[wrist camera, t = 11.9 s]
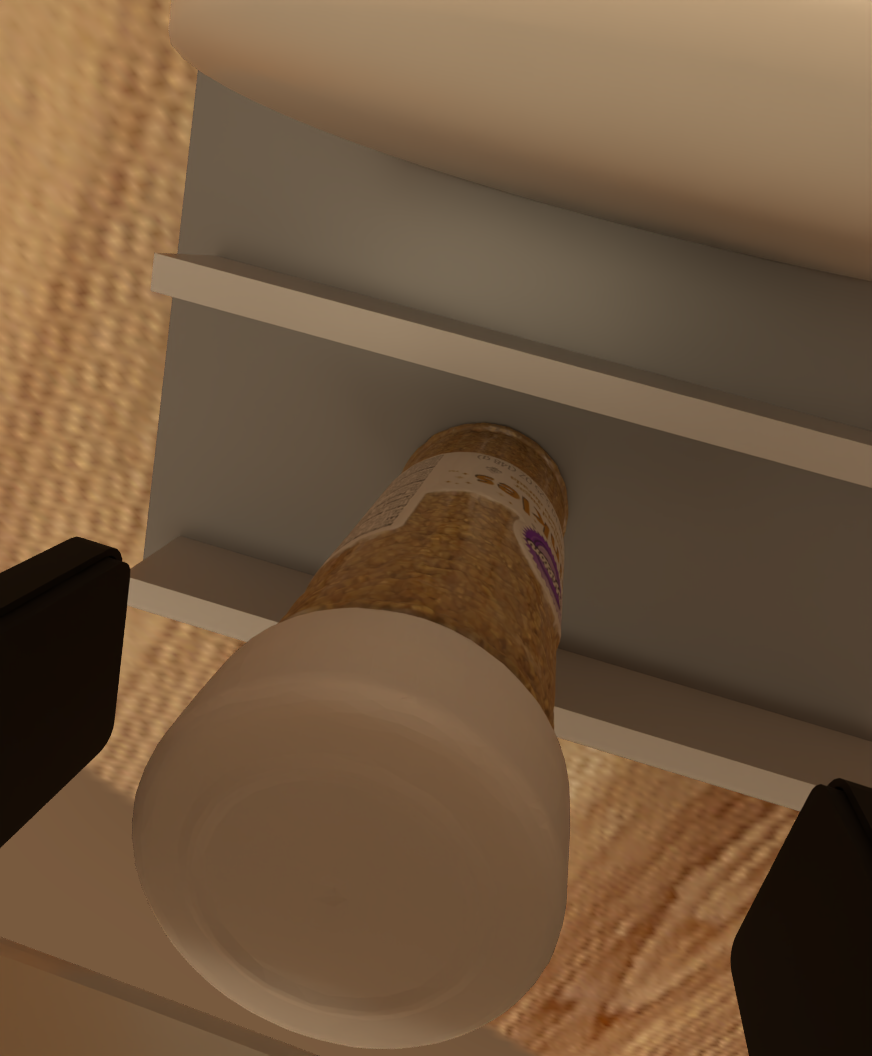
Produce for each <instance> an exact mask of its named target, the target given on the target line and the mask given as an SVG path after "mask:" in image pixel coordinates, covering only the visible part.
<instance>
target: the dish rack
mask: <svg viewBox="0 0 872 1056" xmlns="http://www.w3.org/2000/svg"><path fill="white" fill-rule="evenodd" d="M169 36H170V41H171V45H172V46H173V47H174V48H175V49H176V51H177V52H178V53H179V54H180V55H181V57H182V58H183V59H185V60H186V61H187V62H188V63H190V64H191V65H192V66H194V67H195V68H196V69H198V75H197V84H196V93H195V102H194V111H193V119H192V128H191V137H190V146H189V155H188V164H187V173H186V182H185V191H184V200H183V209H182V218H181V227H180V235H179V244H178V253H177V254H167V253H154V262H153V272H152V282H151V291H153V292H157V293H160V294H164V295H168V296H171V297H173V298H172V307H171V316H170V325H169V334H168V342H167V351H166V360H165V369H164V378H163V387H162V396H161V405H160V414H159V423H158V432H157V441H156V450H155V458H154V467H153V476H152V485H151V494H150V503H149V512H148V521H147V530H146V539H145V548H144V557H143V561H142V562H140V563H139V564H137V565H136V566H134V567H133V568H131V569H130V583H129V593H128V602H127V606H131V607H134V608H137V609H140V610H144V611H147V612H150V613H153V614H157V615H160V616H163V617H167V618H170V619H173V620H176V621H180V622H183V623H186V624H189V625H193V626H196V627H199V628H202V629H206V630H209V631H212V632H216V633H219V634H222V635H225V636H229V637H232V638H235V639H238V640H242V641H245V642H248V641H249V640H250V639H251V638H253V637H254V636H256V635H257V634H259V633H261V632H262V631H264V630H266V629H267V628H269V627H271V626H273V625H276V624H277V623H279V622H280V620H281V619H282V618H283V617H284V616H285V615H286V614H287V612H288V611H289V609H290V608H291V607H292V605H293V604H294V603H295V602H296V600H297V599H298V598H299V597H300V596H301V595H302V594H304V593H305V590H306V588H307V586H308V585H309V583H310V581H311V580H312V578H313V577H314V575H315V574H316V573H317V571H318V570H319V569H320V568H321V566H322V565H323V564H324V563H325V562H326V560H327V559H328V558H329V557H330V556H331V555H332V553H333V552H334V551H335V550H336V549H337V548H338V546H339V545H340V544H341V543H342V542H343V541H344V539H345V538H346V537H347V536H348V535H349V533H350V532H351V531H352V530H353V529H354V527H355V526H356V525H357V524H358V523H359V521H360V520H361V519H362V518H363V517H364V515H365V514H366V513H367V512H368V510H369V509H370V508H371V507H372V506H373V504H374V503H375V502H376V501H377V500H378V498H379V497H380V496H381V495H382V494H383V492H384V491H385V490H386V489H387V488H388V486H389V485H390V484H391V483H392V482H393V481H394V480H395V479H396V478H397V477H398V476H399V475H400V474H401V473H402V471H403V469H404V467H405V465H406V463H407V462H408V460H409V459H410V457H411V456H412V455H413V454H414V452H415V451H416V450H417V449H418V448H419V447H421V446H422V445H423V444H425V443H426V442H427V441H428V440H429V439H430V438H431V437H432V436H433V435H434V434H436V433H439V432H441V431H444V430H447V429H449V428H452V427H456V426H459V425H463V424H476V423H491V424H496V425H501V426H506V427H510V428H512V429H514V430H516V431H518V432H519V433H521V434H523V435H525V436H526V437H528V438H530V439H531V440H533V441H535V442H536V443H537V444H538V445H540V446H541V447H542V448H543V449H544V450H545V452H546V453H547V454H548V455H549V456H550V458H551V459H552V460H553V461H554V462H555V463H556V465H557V466H558V469H559V472H560V474H561V476H562V478H563V480H564V483H565V486H566V491H567V501H568V519H567V525H566V531H565V534H564V538H563V539H564V574H563V593H562V619H561V638H560V642H559V645H558V648H557V650H556V678H555V702H554V703H555V705H554V732H555V734H556V737H558V738H562V739H565V740H568V741H572V742H575V743H578V744H581V745H585V746H588V747H591V748H594V749H598V750H601V751H604V752H607V753H611V754H614V755H617V756H621V757H624V758H627V759H630V760H634V761H637V762H640V763H643V764H647V765H650V766H653V767H656V768H660V769H663V770H666V771H670V772H673V773H676V774H679V775H683V776H686V777H689V778H692V779H696V780H699V781H702V782H705V783H709V784H712V785H715V786H719V787H722V788H725V789H728V790H732V791H735V792H738V793H741V794H745V795H748V796H751V797H754V798H758V799H761V800H764V801H768V802H771V803H774V804H777V805H781V806H784V807H787V808H790V809H794V810H797V811H801V809H802V807H803V805H804V803H805V801H806V799H807V797H808V796H809V794H810V792H811V791H812V789H813V788H814V787H815V786H816V785H819V784H822V785H826V786H828V784H829V783H830V782H831V781H833V780H834V779H837V778H842V779H845V780H848V781H851V782H854V783H857V784H861V785H864V786H867V787H870V788H872V0H172V1H171V11H170V21H169Z"/></svg>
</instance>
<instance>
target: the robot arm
mask: <svg viewBox="0 0 872 1056" xmlns="http://www.w3.org/2000/svg"><path fill="white" fill-rule="evenodd" d="M129 583H130V567H129V565H128V564H127V563H125V562H122V557H121V553H120V552H119V551H118V549H116V548H112V547H109V546H106V545H103V544H100V543H97V542H94V541H90V540H87V539H84V538H81V537H74V538H70V539H68V540H66V541H64V542H62V543H60V544H58V545H56V546H54V547H52V548H50V549H48V550H46V551H44V552H42V553H40V554H38V555H36V556H34V557H32V558H30V559H28V560H26V561H24V562H22V563H20V564H18V565H16V566H14V567H12V568H10V569H8V570H6V571H4V572H2V573H0V848H1V847H2V846H3V845H4V844H5V843H6V842H7V841H8V840H9V839H10V838H11V837H12V836H13V835H14V834H15V833H16V832H17V831H18V830H19V829H20V828H22V827H23V826H24V825H25V824H26V823H27V822H28V821H29V820H30V819H31V818H32V817H33V816H34V815H35V814H36V813H37V812H38V811H39V810H40V809H41V808H42V807H43V806H44V805H45V804H46V803H48V802H49V801H50V800H51V799H52V798H53V797H54V796H55V795H56V794H57V793H58V792H59V791H60V790H61V789H62V788H63V787H64V786H65V785H66V784H67V783H68V782H69V781H70V780H71V779H72V778H74V777H75V776H76V775H77V774H78V773H79V772H80V771H81V770H82V769H83V768H84V767H85V766H86V765H87V764H88V763H89V762H90V761H91V760H92V759H93V758H94V757H95V756H96V755H97V754H98V753H100V751H101V750H102V749H103V748H104V746H105V745H106V743H107V742H108V740H109V738H110V736H111V733H112V730H113V726H114V720H115V711H116V702H117V693H118V684H119V674H120V665H121V656H122V647H123V638H124V629H125V620H126V611H127V602H128V593H129ZM731 972H732V976H733V981H734V986H735V991H736V996H737V1000H738V1005H739V1010H740V1015H741V1019H742V1024H743V1029H744V1034H745V1039H746V1043H747V1048H748V1053H749V1056H872V788H870V787H867V786H864V785H861V784H857V783H854V782H851V781H848V780H845V779H842V778H837V779H834V780H833V781H831V782H830V783H829V784H828V786H826V785H822V784H819V785H816V786H815V787H814V788H813V789H812V791H811V792H810V794H809V796H808V797H807V799H806V801H805V803H804V805H803V807H802V809H801V811H800V813H799V815H798V817H797V819H796V821H795V823H794V825H793V826H792V828H791V830H790V832H789V834H788V836H787V838H786V840H785V842H784V844H783V846H782V848H781V850H780V852H779V853H778V855H777V857H776V859H775V861H774V863H773V865H772V867H771V869H770V871H769V873H768V875H767V877H766V879H765V881H764V882H763V884H762V886H761V888H760V890H759V892H758V894H757V896H756V898H755V900H754V902H753V904H752V906H751V908H750V909H749V911H748V913H747V915H746V917H745V919H744V921H743V923H742V925H741V927H740V929H739V931H738V933H737V935H736V937H735V939H734V942H733V946H732V951H731ZM0 1056H318V1055H316V1054H313V1053H310V1052H307V1051H305V1050H302V1049H300V1048H297V1047H294V1046H292V1045H289V1044H286V1043H283V1042H281V1041H278V1040H276V1039H273V1038H271V1037H268V1036H265V1035H262V1034H260V1033H257V1032H255V1031H252V1030H249V1029H247V1028H244V1027H241V1026H239V1025H236V1024H233V1023H231V1022H228V1021H226V1020H223V1019H220V1018H218V1017H215V1016H212V1015H210V1014H207V1013H204V1012H202V1011H199V1010H196V1009H194V1008H191V1007H188V1006H186V1005H183V1004H180V1003H178V1002H175V1001H173V1000H170V999H167V998H164V997H162V996H159V995H157V994H154V993H151V992H148V991H145V990H143V989H140V988H138V987H135V986H132V985H130V984H127V983H124V982H121V981H119V980H116V979H113V978H111V977H108V976H105V975H102V974H100V973H97V972H95V971H92V970H89V969H87V968H84V967H81V966H79V965H76V964H73V963H70V962H67V961H65V960H62V959H59V958H57V957H54V956H51V955H49V954H46V953H43V952H41V951H38V950H35V949H33V948H30V947H27V946H25V945H22V944H19V943H16V942H14V941H11V940H8V939H6V938H3V937H0Z"/></svg>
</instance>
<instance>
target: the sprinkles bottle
mask: <svg viewBox="0 0 872 1056" xmlns="http://www.w3.org/2000/svg"><path fill="white" fill-rule="evenodd" d="M567 519H568V501H567V491H566V486H565V483H564V480H563V478H562V476H561V474H560V472H559V469H558V466H557V465H556V463H555V462H554V461H553V460H552V459H551V458H550V456H549V455H548V454H547V453H546V452H545V450H544V449H543V448H542V447H541V446H540V445H538V444H537V443H536V442H535V441H533V440H531V439H530V438H528V437H526V436H525V435H523V434H521V433H519V432H518V431H516V430H514V429H512V428H510V427H506V426H501V425H496V424H491V423H476V424H463V425H459V426H456V427H452V428H449V429H447V430H444V431H441V432H439V433H436V434H434V435H433V436H432V437H431V438H430V439H429V440H428V441H427V442H426V443H425V444H423V445H422V446H421V447H419V448H418V449H417V450H416V451H415V452H414V454H413V455H412V456H411V457H410V459H409V460H408V462H407V463H406V465H405V467H404V469H403V471H402V473H401V474H400V475H399V476H398V477H397V478H396V479H395V480H394V481H393V482H392V483H391V484H390V485H389V486H388V488H387V489H386V490H385V491H384V492H383V494H382V495H381V496H380V497H379V498H378V500H377V501H376V502H375V503H374V504H373V506H372V507H371V508H370V509H369V510H368V512H367V513H366V514H365V515H364V517H363V518H362V519H361V520H360V521H359V523H358V524H357V525H356V526H355V527H354V529H353V530H352V531H351V532H350V533H349V535H348V536H347V537H346V538H345V539H344V541H343V542H342V543H341V544H340V545H339V546H338V548H337V549H336V550H335V551H334V552H333V553H332V555H331V556H330V557H329V558H328V559H327V560H326V562H325V563H324V564H323V565H322V566H321V568H320V569H319V570H318V571H317V573H316V574H315V575H314V577H313V578H312V580H311V581H310V583H309V585H308V586H307V588H306V590H305V593H304V594H302V595H301V596H300V597H299V598H298V599H297V600H296V602H295V603H294V604H293V605H292V607H291V608H290V609H289V611H288V612H287V614H286V615H285V616H284V617H283V618H282V619H281V620H280V622H279V623H277V624H276V625H273V626H271V627H269V628H267V629H266V630H264V631H262V632H261V633H259V634H257V635H256V636H254V637H253V638H251V639H250V640H249V641H248V642H247V643H245V644H244V645H243V646H242V647H241V648H239V649H238V650H237V651H236V652H235V653H234V654H233V655H232V656H231V657H230V658H229V659H228V660H227V661H226V662H225V663H224V664H223V665H222V667H221V668H220V669H219V670H218V671H217V672H216V673H215V674H214V675H213V677H212V678H211V679H210V680H209V681H208V682H207V684H206V685H205V686H204V687H203V688H202V689H201V691H200V692H199V693H198V694H197V695H196V696H195V698H194V699H193V700H192V701H191V702H190V704H189V705H188V706H187V707H186V709H185V710H184V711H183V712H182V714H181V715H180V716H179V717H178V718H177V720H176V721H175V722H174V723H173V725H172V726H171V727H170V728H169V730H168V731H167V732H166V734H165V735H164V736H163V738H162V739H161V741H160V742H159V743H158V745H157V747H156V749H155V750H154V752H153V754H152V756H151V758H150V760H149V762H148V763H147V765H146V767H145V769H144V772H143V775H142V778H141V781H140V783H139V786H138V789H137V792H136V796H135V802H134V812H133V819H132V839H133V848H134V857H135V865H136V869H137V872H138V876H139V879H140V883H141V886H142V888H143V891H144V893H145V896H146V898H147V901H148V903H149V905H150V907H151V910H152V912H153V914H154V916H155V917H156V919H157V921H158V922H159V924H160V926H161V928H162V929H163V931H164V932H165V934H166V936H167V937H168V938H169V940H170V941H171V942H172V944H173V945H174V946H175V947H176V949H177V950H178V951H179V952H180V954H181V955H182V956H183V957H184V958H185V959H186V960H187V961H188V963H189V964H190V965H191V966H192V967H193V968H194V969H195V970H196V971H197V972H198V973H199V974H200V975H201V976H202V977H203V978H205V979H206V980H207V981H208V982H209V983H210V984H211V985H212V986H214V987H215V988H216V989H218V990H219V991H220V992H221V993H223V994H224V995H225V996H226V997H228V998H229V999H231V1000H233V1001H234V1002H236V1003H237V1004H239V1005H241V1006H242V1007H244V1008H245V1009H247V1010H248V1011H250V1012H252V1013H254V1014H256V1015H258V1016H260V1017H262V1018H264V1019H266V1020H268V1021H270V1022H272V1023H274V1024H276V1025H278V1026H281V1027H283V1028H285V1029H287V1030H290V1031H293V1032H296V1033H299V1034H302V1035H305V1036H308V1037H312V1038H315V1039H319V1040H323V1041H327V1042H331V1043H336V1044H340V1045H345V1046H349V1047H358V1048H370V1049H399V1048H409V1047H417V1046H423V1045H429V1044H435V1043H440V1042H443V1041H446V1040H450V1039H453V1038H456V1037H459V1036H462V1035H464V1034H466V1033H469V1032H471V1031H473V1030H476V1029H478V1028H480V1027H482V1026H484V1025H485V1024H487V1023H489V1022H491V1021H492V1020H494V1019H495V1018H497V1017H498V1016H500V1015H502V1014H503V1013H505V1012H506V1011H507V1010H508V1009H509V1008H511V1007H512V1006H513V1005H514V1004H515V1003H517V1002H518V1001H519V1000H520V999H521V998H522V997H523V996H524V995H525V994H526V993H527V991H528V990H529V989H530V988H531V987H532V986H533V985H534V984H535V983H536V981H537V979H538V978H539V976H540V975H541V973H542V972H543V970H544V969H545V967H546V966H547V965H548V963H549V961H550V959H551V957H552V955H553V952H554V949H555V946H556V944H557V941H558V938H559V934H560V931H561V928H562V924H563V920H564V914H565V908H566V899H567V878H568V859H569V839H570V795H569V782H568V775H567V769H566V764H565V759H564V756H563V753H562V750H561V747H560V744H559V741H558V739H557V737H556V734H555V732H554V705H555V703H554V702H555V678H556V650H557V648H558V645H559V642H560V638H561V619H562V593H563V574H564V539H563V538H564V534H565V531H566V525H567Z"/></svg>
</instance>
